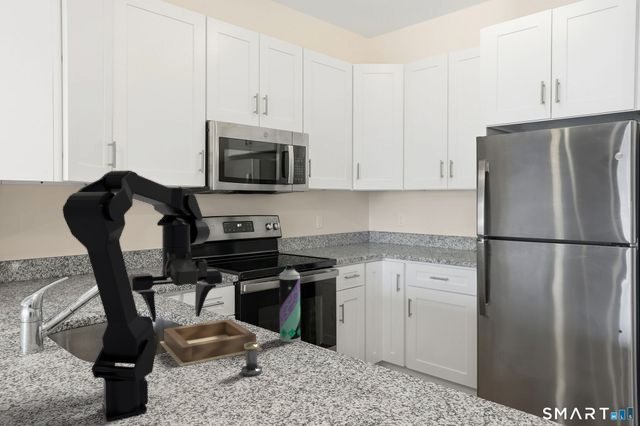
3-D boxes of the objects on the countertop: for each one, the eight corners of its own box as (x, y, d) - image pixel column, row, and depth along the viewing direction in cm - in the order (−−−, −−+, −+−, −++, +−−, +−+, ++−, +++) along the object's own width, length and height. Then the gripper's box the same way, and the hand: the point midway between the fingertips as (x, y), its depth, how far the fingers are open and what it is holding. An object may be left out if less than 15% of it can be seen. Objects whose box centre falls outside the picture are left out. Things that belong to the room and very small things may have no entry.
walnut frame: (183, 363, 101) (182, 347, 101) (164, 342, 116) (163, 329, 116) (256, 348, 111) (256, 334, 110) (229, 331, 126) (229, 319, 126)
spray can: (275, 339, 119) (274, 264, 119) (291, 334, 123) (290, 262, 123) (289, 343, 115) (288, 266, 115) (304, 339, 119) (303, 264, 119)
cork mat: (180, 366, 100) (180, 365, 100) (160, 343, 117) (160, 341, 117) (262, 350, 110) (262, 348, 110) (232, 330, 127) (232, 329, 127)
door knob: (246, 377, 93) (245, 349, 93) (238, 371, 97) (238, 343, 97) (265, 373, 95) (265, 345, 95) (257, 366, 99) (256, 340, 99)
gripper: (138, 251, 84) (138, 333, 84) (231, 247, 94) (231, 320, 94) (127, 247, 93) (127, 322, 93) (213, 244, 104) (213, 311, 104)
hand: (176, 319), depth 96 cm, fingers open, 9 cm apart
